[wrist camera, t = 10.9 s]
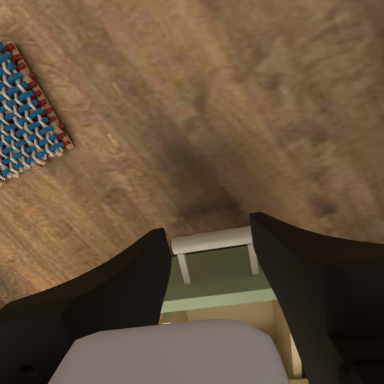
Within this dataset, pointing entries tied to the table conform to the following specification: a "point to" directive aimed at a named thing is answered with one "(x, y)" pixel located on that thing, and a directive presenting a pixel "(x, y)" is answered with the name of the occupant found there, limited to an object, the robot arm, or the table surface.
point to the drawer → (226, 289)
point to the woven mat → (25, 118)
